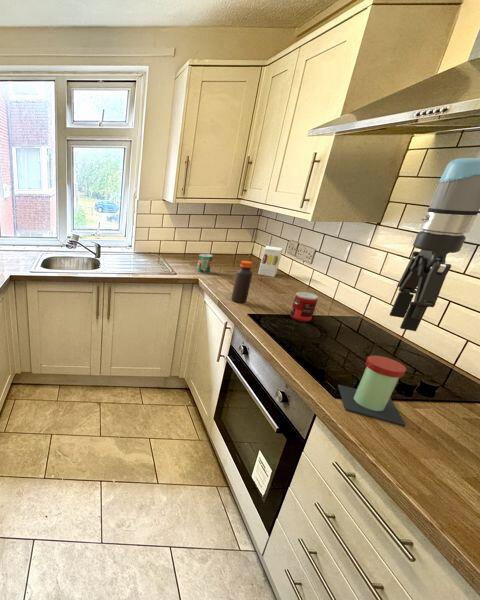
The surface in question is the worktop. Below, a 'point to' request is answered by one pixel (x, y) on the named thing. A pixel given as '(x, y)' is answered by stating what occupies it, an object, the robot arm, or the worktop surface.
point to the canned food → (303, 306)
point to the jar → (374, 390)
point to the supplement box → (270, 261)
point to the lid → (385, 366)
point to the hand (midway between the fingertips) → (401, 322)
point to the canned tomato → (204, 263)
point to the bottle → (242, 282)
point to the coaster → (386, 415)
